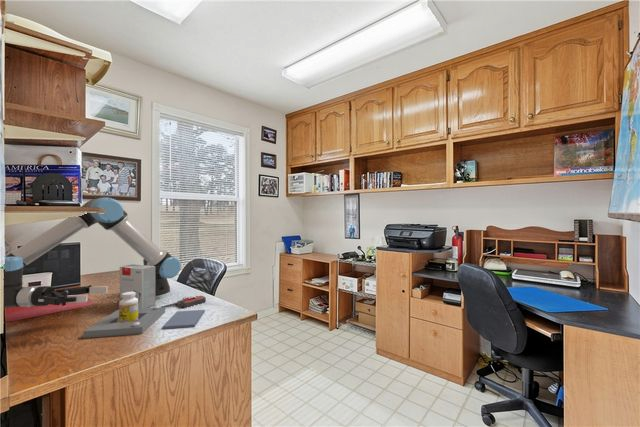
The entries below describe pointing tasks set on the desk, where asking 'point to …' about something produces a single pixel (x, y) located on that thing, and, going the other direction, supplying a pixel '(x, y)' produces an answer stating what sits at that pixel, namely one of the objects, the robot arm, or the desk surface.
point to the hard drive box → (139, 283)
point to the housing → (124, 323)
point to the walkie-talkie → (189, 301)
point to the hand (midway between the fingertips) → (97, 293)
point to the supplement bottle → (128, 307)
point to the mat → (184, 319)
